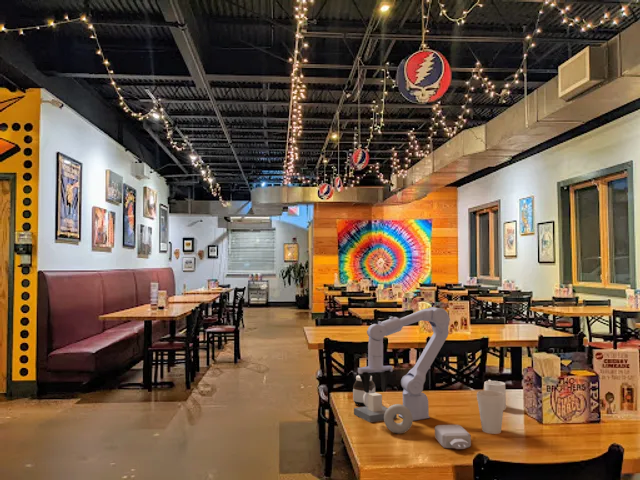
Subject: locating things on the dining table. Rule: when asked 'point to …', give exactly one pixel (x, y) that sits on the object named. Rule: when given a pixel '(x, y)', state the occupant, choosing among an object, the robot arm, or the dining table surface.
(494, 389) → the cup
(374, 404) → the block
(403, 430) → the donut
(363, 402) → the spread jar
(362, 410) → the tile
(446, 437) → the charger
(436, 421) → the dining table surface
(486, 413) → the foam cup
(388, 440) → the dining table surface
